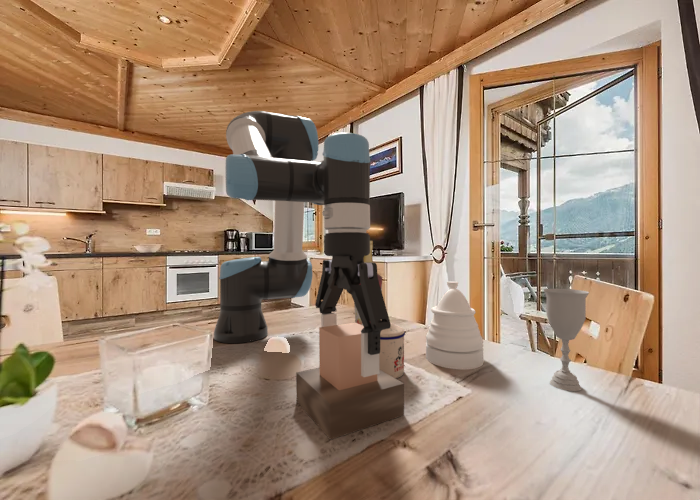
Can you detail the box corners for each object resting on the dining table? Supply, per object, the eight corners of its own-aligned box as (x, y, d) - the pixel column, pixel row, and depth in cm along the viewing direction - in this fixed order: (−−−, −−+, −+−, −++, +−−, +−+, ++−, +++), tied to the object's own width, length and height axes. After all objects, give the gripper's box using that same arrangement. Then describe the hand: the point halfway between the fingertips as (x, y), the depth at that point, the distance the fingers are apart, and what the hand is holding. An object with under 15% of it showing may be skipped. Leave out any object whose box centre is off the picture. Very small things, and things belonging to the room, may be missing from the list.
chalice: (539, 385, 62) (539, 291, 62) (547, 374, 67) (547, 287, 67) (586, 397, 57) (586, 294, 57) (591, 385, 62) (591, 290, 62)
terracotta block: (319, 374, 55) (319, 327, 55) (355, 366, 59) (354, 322, 59) (339, 390, 49) (338, 337, 49) (377, 380, 53) (377, 331, 53)
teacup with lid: (404, 382, 64) (404, 323, 64) (358, 379, 66) (358, 321, 66) (406, 361, 75) (406, 311, 75) (367, 358, 77) (367, 309, 77)
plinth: (296, 401, 56) (296, 372, 56) (360, 384, 63) (360, 359, 63) (330, 439, 45) (330, 403, 45) (404, 415, 52) (403, 383, 52)
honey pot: (424, 349, 84) (423, 279, 84) (476, 351, 82) (476, 280, 82) (428, 367, 72) (427, 285, 71) (489, 371, 70) (489, 286, 69)
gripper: (297, 233, 63) (298, 344, 63) (369, 227, 41) (370, 395, 41) (332, 234, 66) (333, 338, 67) (415, 228, 45) (415, 383, 45)
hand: (347, 360), depth 54 cm, fingers open, 13 cm apart
